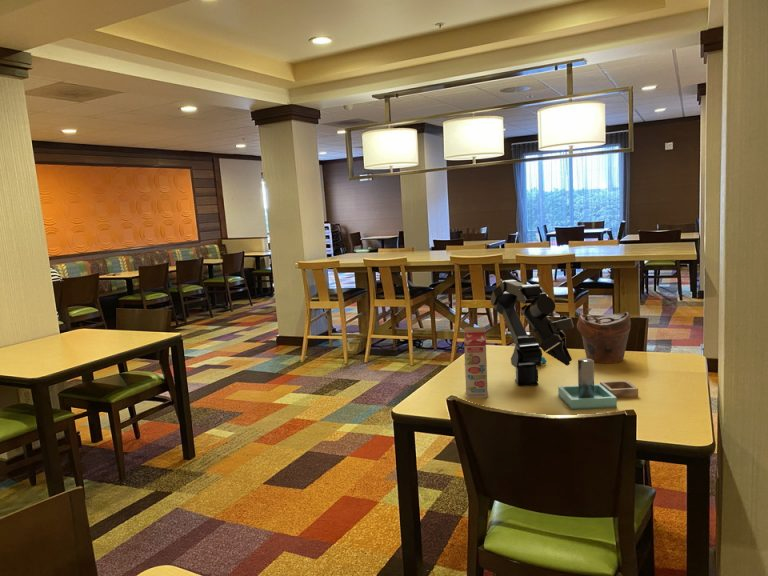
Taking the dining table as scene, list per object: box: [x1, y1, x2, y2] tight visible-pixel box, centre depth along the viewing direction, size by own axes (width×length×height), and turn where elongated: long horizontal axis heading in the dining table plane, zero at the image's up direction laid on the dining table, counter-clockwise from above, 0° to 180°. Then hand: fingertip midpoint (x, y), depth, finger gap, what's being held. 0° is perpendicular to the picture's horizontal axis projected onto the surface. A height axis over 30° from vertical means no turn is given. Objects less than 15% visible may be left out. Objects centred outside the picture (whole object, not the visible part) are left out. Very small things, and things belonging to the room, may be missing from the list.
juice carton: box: [463, 326, 489, 399], centre depth 187 cm, size 7×7×22 cm
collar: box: [599, 379, 639, 399], centre depth 183 cm, size 8×8×2 cm
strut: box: [577, 358, 595, 398], centre depth 176 cm, size 4×4×12 cm
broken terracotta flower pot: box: [576, 311, 632, 364], centre depth 220 cm, size 18×20×18 cm
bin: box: [557, 383, 618, 411], centre depth 177 cm, size 13×13×3 cm
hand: (569, 362), depth 183 cm, fingers open, 9 cm apart
